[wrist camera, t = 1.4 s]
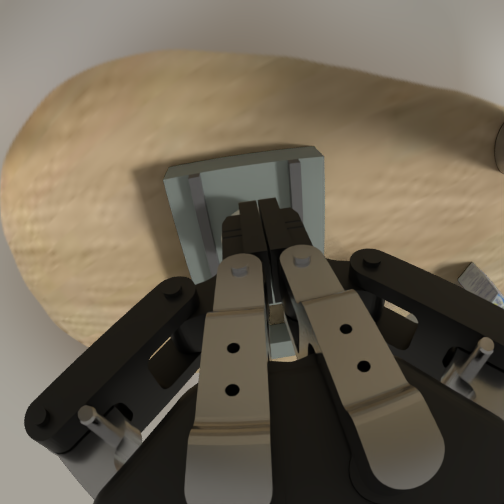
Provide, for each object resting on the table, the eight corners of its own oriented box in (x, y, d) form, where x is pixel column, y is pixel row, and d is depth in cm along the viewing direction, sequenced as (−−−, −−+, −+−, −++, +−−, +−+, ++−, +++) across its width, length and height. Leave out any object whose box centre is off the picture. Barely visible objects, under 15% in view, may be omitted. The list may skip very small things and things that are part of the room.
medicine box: (456, 278, 44) (481, 313, 37) (472, 260, 42) (499, 293, 35) (471, 290, 47) (494, 321, 40) (486, 274, 44) (510, 304, 37)
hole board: (313, 146, 29) (327, 159, 26) (313, 333, 47) (319, 356, 43) (168, 167, 29) (161, 183, 26) (221, 347, 47) (221, 371, 43)
